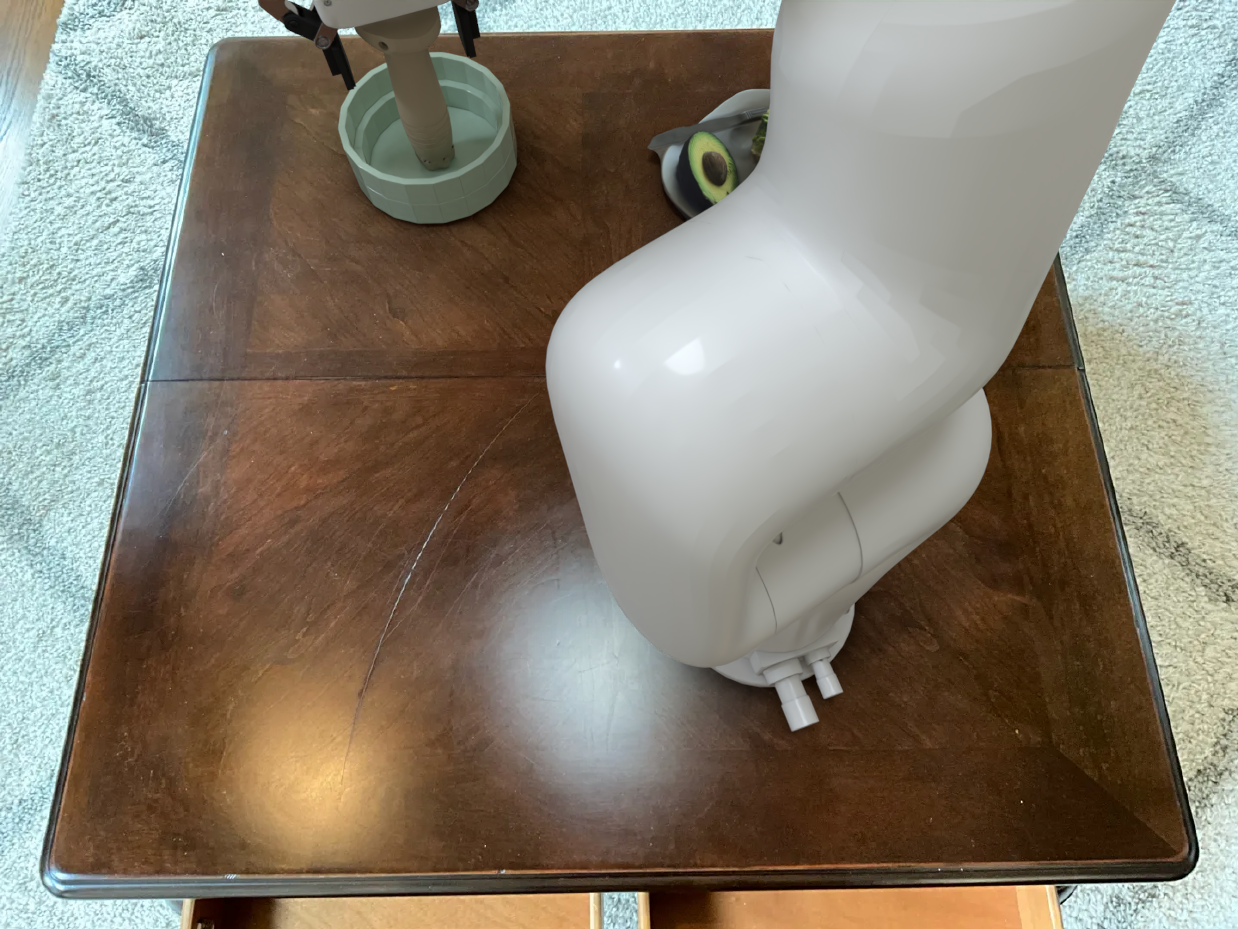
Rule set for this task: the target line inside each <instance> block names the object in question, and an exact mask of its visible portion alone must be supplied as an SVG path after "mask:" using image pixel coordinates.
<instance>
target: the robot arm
mask: <svg viewBox="0 0 1238 929" xmlns="http://www.w3.org/2000/svg"><path fill="white" fill-rule="evenodd" d="M1176 1H1177V0H781V1H780V5H779V9H778V12H777V17H776V20H775V25H774V31H773V37H772V46H771V55H770V84H769V86H770V88H769V89H770V108H769V116H768V124H767V133H766V138H765V144H764V147H763V150H762V154H761V157H760V160H759V162H758V164H757V166H756V168H755V169H754V171H753V172H752V173H751V174H750V175H749V177H748V178H747V179H746V180H745V181H743V182H742V183H741V184H740V185H739V186H738V187H737V188H736V189H735V190H734V191H733V192H731V193H730V194H729V195H727V196H726V197H725V198H723V199H722V200H721V201H719V202H718V203H717V204H715V205H714V206H712V207H710V208H709V209H707V210H705V211H704V212H702V213H700V214H699V215H697V216H695V217H694V218H692V219H690V220H686V221H685V222H683V223H682V224H679V225H678V226H676V227H675V228H672V229H671V230H669V231H667V232H666V233H664V234H662V235H660V236H659V237H657V238H655V239H654V240H652V241H650V242H648V243H647V244H645V245H643V246H641V247H640V248H638V249H636V250H634V251H633V252H631V253H630V254H628V255H627V256H625V257H623V258H621V259H620V260H618V261H616V262H615V263H613V264H612V265H610V266H609V267H608V268H606V269H604V270H602V272H601V273H599V274H597V275H596V276H595V277H593V278H592V279H591V280H590V281H588V282H587V283H586V284H585V285H584V286H583V287H582V288H581V289H579V291H578V290H577V292H576V293H575V295H574V296H573V297H572V298H571V299H570V300H569V301H568V303H567V304H566V305H565V307H564V308H563V309H562V311H561V313H560V314H559V316H558V318H557V319H556V321H555V323H554V326H553V328H552V331H551V334H550V338H549V341H548V343H547V347H546V356H545V378H546V388H547V393H548V397H549V401H550V407H551V411H552V416H553V420H554V424H555V427H556V431H557V433H558V438H559V441H560V444H561V447H562V451H563V454H564V458H565V461H566V465H567V468H568V471H569V475H570V479H571V481H572V485H573V489H574V493H575V496H576V499H577V502H578V506H579V508H580V513H581V515H582V520H583V523H584V527H585V530H586V534H587V537H588V540H589V543H590V546H591V548H592V552H593V555H594V559H595V561H596V564H597V566H598V568H599V571H600V573H601V576H602V578H603V580H604V582H605V584H606V586H607V588H608V590H609V592H610V594H611V596H612V597H613V599H614V601H615V603H616V604H617V606H618V608H619V609H620V611H621V612H622V614H623V615H624V616H625V618H626V619H627V620H628V622H629V623H630V624H631V625H632V626H633V627H634V628H635V629H636V631H637V632H638V633H639V634H640V635H641V637H643V638H644V639H645V640H646V641H647V642H648V643H649V644H651V646H653V647H654V648H655V649H657V650H658V651H659V652H661V653H662V654H664V655H665V656H667V657H669V658H671V659H672V660H674V661H676V662H679V663H682V664H684V665H686V666H692V667H696V668H711V669H712V670H713V671H715V672H717V673H719V674H720V675H722V676H723V677H725V678H726V679H730V680H732V681H734V682H737V683H739V684H742V685H747V686H752V687H756V688H757V687H758V688H775V690H776V692H777V695H778V697H779V699H780V702H781V705H780V706H781V709H782V711H783V714H784V716H785V719H786V722H787V723H788V726H789V730H790V731H791V733H792V732H797V731H798V730H802V729H804V728H807V727H810V726H812V725H815V724H817V723H819V722H820V719H819V717H818V715H817V712H816V710H815V707H814V705H813V703H812V700H811V698H810V696H809V695H808V694H807V692H806V690H805V687H804V684H803V682H802V681H805V680H807V679H809V678H810V677H812V676H814V677H815V679H816V683H817V684H816V685H817V687H818V689H819V691H820V693H821V695H822V698H823V700H827V699H830V698H832V697H835V696H838V695H841V694H842V693H844V690H843V688H842V686H841V683H840V681H839V679H838V677H837V674H836V673H835V672H834V670H833V667H832V665H831V662H832V660H834V659H835V657H836V656H837V655H838V653H839V652H840V651H841V649H843V647H844V645H845V643H846V641H847V638H848V637H849V634H850V632H851V629H852V625H853V621H854V617H855V603H856V602H858V600H859V599H861V598H862V597H863V596H864V595H865V594H866V593H867V592H868V591H870V589H871V588H872V587H874V585H875V584H876V583H878V581H879V580H881V579H882V578H883V577H884V576H885V575H886V574H887V573H888V572H889V571H891V569H893V568H894V567H895V566H896V565H897V564H898V563H899V562H900V561H902V560H903V559H904V558H905V557H907V556H908V555H909V554H910V553H912V552H914V550H915V549H917V548H918V547H919V546H920V545H921V544H922V543H924V542H925V541H927V539H929V538H930V537H931V536H933V535H934V534H935V533H936V532H937V531H939V530H940V529H941V528H943V527H944V526H945V525H946V524H947V523H948V522H949V521H950V520H952V519H953V518H954V517H955V516H956V515H957V514H958V513H959V512H960V511H961V510H962V508H964V507H965V506H966V504H967V503H968V502H969V501H970V500H971V497H972V496H973V494H974V493H975V492H976V490H977V489H978V486H980V483H981V481H982V479H983V477H984V475H985V472H986V469H987V466H988V463H989V460H990V454H991V450H992V438H993V437H992V436H993V430H992V417H991V412H990V407H989V403H988V400H987V396H986V394H985V391H984V387H985V386H986V385H987V384H988V383H989V381H990V380H991V379H992V378H993V377H994V376H995V375H996V374H997V372H998V371H999V369H1000V368H1001V367H1002V365H1003V364H1004V363H1005V362H1006V359H1007V358H1008V356H1009V355H1010V353H1011V351H1012V350H1013V349H1014V346H1015V344H1016V341H1017V340H1018V338H1019V336H1020V334H1021V332H1022V330H1023V327H1024V325H1025V323H1026V321H1027V319H1028V317H1029V315H1030V313H1031V310H1032V308H1033V305H1034V303H1035V301H1036V299H1037V297H1038V295H1039V292H1040V290H1041V288H1042V286H1043V284H1044V281H1045V280H1046V277H1047V275H1048V273H1049V271H1050V269H1051V267H1052V265H1053V264H1054V261H1055V260H1056V257H1057V255H1058V253H1059V250H1060V249H1061V246H1062V244H1063V242H1064V240H1065V238H1066V236H1067V234H1068V231H1069V229H1070V227H1071V225H1072V224H1073V221H1074V219H1075V217H1076V215H1077V213H1078V211H1079V209H1080V206H1081V205H1082V202H1083V200H1084V198H1085V196H1086V194H1087V192H1088V190H1089V188H1090V186H1091V183H1092V181H1093V179H1094V177H1095V175H1096V173H1097V171H1098V169H1099V167H1100V165H1101V162H1102V161H1103V159H1104V158H1105V154H1106V152H1107V150H1108V149H1109V146H1110V143H1111V141H1112V138H1113V136H1114V133H1115V131H1116V128H1117V126H1118V124H1119V121H1120V119H1121V117H1122V114H1123V111H1124V109H1125V107H1126V103H1127V101H1128V99H1129V97H1130V96H1131V93H1132V91H1133V89H1134V87H1135V85H1136V82H1137V80H1138V78H1139V76H1140V74H1141V72H1142V70H1143V68H1144V66H1145V63H1146V61H1147V60H1148V58H1149V55H1150V53H1151V51H1152V49H1153V47H1154V45H1155V42H1156V40H1157V39H1158V37H1159V35H1160V33H1161V31H1162V29H1163V27H1164V26H1165V24H1166V21H1167V20H1168V18H1169V15H1170V13H1171V11H1172V10H1173V7H1174V6H1175V4H1176ZM449 2H450V3H451V9H452V12H453V17H454V22H455V26H456V30H457V34H458V36H459V37H458V38H459V39H460V42H461V45H462V47H463V49H464V50H463V51H464V53H465V57H467V58H469V59H473V58H477V52H476V51H477V50H476V46H475V40H476V39H480V38H481V30H480V25H479V21H478V16H477V11H476V10H477V9H478V8H479V6H480V1H479V0H312V1H311V4H310V6H309V8H307V7H304V6H302V5H301V4H298V3H296V2H294V1H291V0H257V4H258V6H259V7H260V8H261V9H262V10H263V11H265V12H266V14H268V15H269V16H271V17H272V18H274V19H275V20H276V21H279V22H280V23H281V24H283V26H284V28H285V29H286V30H287V31H289V32H291V33H293V34H294V35H298V36H300V37H302V38H305V39H307V40H309V41H311V42H313V44H314V46H315V47H316V48H317V49H319V50H322V53H323V55H324V58H325V61H326V63H327V66H328V68H329V72H330V74H331V75H332V77H335V76H339V75H341V77H342V80H343V82H344V85H345V88H346V90H347V91H348V92H350V90H353V89H354V87H356V80H355V78H354V75H353V71H352V67H351V64H350V62H349V58H348V55H347V53H346V50H345V48H344V45H343V41H342V39H341V37H340V33H339V32H338V31H339V30H347V29H352V28H354V27H358V26H362V25H366V24H370V23H374V22H378V21H382V20H386V19H390V18H394V17H398V16H402V15H405V14H409V13H413V12H417V11H421V10H424V9H428V8H432V7H435V6H441V5H444V4H447V3H449Z"/></svg>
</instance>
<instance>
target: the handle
mask: <svg viewBox="0 0 1238 929" xmlns="http://www.w3.org/2000/svg"><path fill="white" fill-rule="evenodd" d="M441 19H442V18H441V15H440V11H439V7H438V6H435V7H432V8H428V9H424V10H421V11H417V12H413V13H409V14H405V15H402V16H398V17H394V18H390V19H386V20H382V21H378V22H374V23H370V24H366V25H362V26H358V27H353V28H354V30H355V33H356V35H358V37H360V38H361V39H362V40H363V41H364V42H365V43H367V44H368V45H369V46H370V47H373V48H374V49H375V50H377V51H379V52H380V53H383V56H384V60H385V63H386V64H387V68H388V71H389V75H390V79H391V83H392V87H393V91H394V95H395V100H396V104H397V108H398V112H399V115H400V118H401V121H402V124H403V127H404V130H405V132H406V134H407V137H408V139H409V141H410V143H411V145H412V147H413V149H414V151H415V154H416V156H417V158H418V159H419V161H421V162H423V163H424V165H425V167H426V169H428V170H432V171H434V170H435V169H439V168H447V167H449V166H450V161H451V160H452V159H453V158H454V157H455V149H454V144H452V143H453V137H452V128H451V122H450V116H449V112H448V108H447V104H446V101H445V98H444V95H443V92H442V89H441V87H440V84H439V81H438V78H437V75H436V72H435V69H434V66H433V63H432V60H431V57H430V54H429V52H430V51H429V47H431V46H432V45H433V44H434V43H435V42H436V40H437V39H438V37H439V35H440V33H441V30H442V20H441Z"/></svg>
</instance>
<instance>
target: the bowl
mask: <svg viewBox="0 0 1238 929" xmlns="http://www.w3.org/2000/svg"><path fill="white" fill-rule="evenodd" d="M429 54H430V57H431V60H432V63H433V66H434V69H435V72H436V75H437V78H438V81H439V84H440V87H441V89H442V92H443V95H444V98H445V101H446V104H447V108H448V112H449V116H450V122H451V128H452V137H453V143H452V144H454V149H455V157H454V158H453V159H452V160H451V161H450V166H449V167H447V168H439V169H435V170H434V171H432V170H428V169H426V167H425V165H424V163H423V162H421V161H419V159H418V158H417V156H416V154H415V151H414V149H413V147H412V145H411V143H410V141H409V139H408V137H407V134H406V132H405V130H404V127H403V124H402V121H401V118H400V115H399V112H398V108H397V104H396V100H395V95H394V91H393V87H392V83H391V79H390V75H389V71H388V68H387V64H386V62H384V63H382V64H380V65H378V66H376V67H375V68H373V69H370V70H369V71H368V72H367V73H366V74H364V76H362V77H361V78H360V79H359V80H358V81H357V82H355V84H356V87H354V89H353V90H349V91H348V93H347V95H346V97H345V99H344V101H343V102H342V104H341V106H340V112H339V120H338V125H337V130H338V131H337V132H338V134H339V138H340V142H341V145H342V148H343V150H344V153H345V155H346V158H347V160H348V162H349V165H350V167H351V169H352V172H353V174H354V176H355V178H356V181H357V183H358V186H359V188H360V190H361V191H362V193H363V194H364V195H365V196H366V197H367V199H368V200H369V201H370V202H371V204H372V205H373V206H374V207H375V208H377V209H378V210H380V211H382V212H384V213H386V214H387V215H389V216H391V217H392V218H394V219H399V220H401V221H406V222H409V223H414V224H423V225H424V224H446V223H449V222H453V221H456V220H461V219H464V218H467V217H470V216H473V215H474V214H476V213H477V212H480V211H481V210H483V209H484V208H485V207H488V206H489V205H491V204H492V203H493V202H494V201H495V200H496V199H497V198H498V197H499V196H500V194H502V192H503V191H504V190H505V189H507V187H508V185H509V183H510V181H511V179H512V177H513V174H514V172H515V169H516V168H517V163H518V162H517V161H518V142H517V137H516V131H515V125H514V119H513V114H512V108H511V107H512V106H511V102H510V100H509V98H508V94H507V92H506V88H505V87H504V84H503V83H502V82H501V81H500V80H499V79H498V78H497V77H496V75H495V74H493V73H492V71H491V70H490V69H489V68H488V67H487V66H485V65H482V64H481V63H479V62H477V61H475V60H473V59H472V58H470V57H467V56H463V55H459V54H455V53H449V52H445V51H429Z"/></svg>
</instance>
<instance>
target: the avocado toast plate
mask: <svg viewBox="0 0 1238 929" xmlns="http://www.w3.org/2000/svg"><path fill="white" fill-rule="evenodd" d="M769 108H770V88H751V89H746V90H742V91H740V92H737V93H736V94H734V95H733V96H731V97H730V98H727V99H726V100H725V101H723V102H722V103H720V104H719V105H718V106H717V107H716V108H714V109H713V111H711V112H709V114H707V115H706V116H705V117H704V118H703V119H701V120H700V121H699V122H698V123H694V124H692V125H690V126H685V125H682V126H679V127H675V128H672V129H670V130H667V131H664V132H662V133H659V134H657V135H655V136H653V137H652V138H651V140H650V143H649V144H648V145H647V147H646V149H648V150H651V151H653V152H655V153H656V154H657V155H658V158H659V160H660V179H661V185H662V187H663V190H664V192H665V194H666V195H667V196H666V197H668V199H669V200H670V202H671V203H672V204H673V205H674V207H675V209H677V211H678V212H679V213H680V214H681V215H682V216H683V217H684V218H685V219H686V221H688V220H690V219H692V218H694V217H695V216H697V215H699V214H700V213H702V212H704V211H705V210H707V209H709V208H710V207H712V206H714V205H715V204H717V203H718V202H719V201H721V200H722V199H723V198H725V197H726V196H727V195H729V194H730V193H731V192H733V191H734V190H735V189H736V188H737V187H738V186H739V185H740V184H741V183H742V182H743V181H745V180H746V179H747V178H748V177H749V175H750V174H751V173H752V172H753V171H754V169H755V168H756V166H757V164H758V162H759V160H760V157H761V154H762V150H763V147H764V144H765V138H766V133H767V124H768V116H769Z"/></svg>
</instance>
